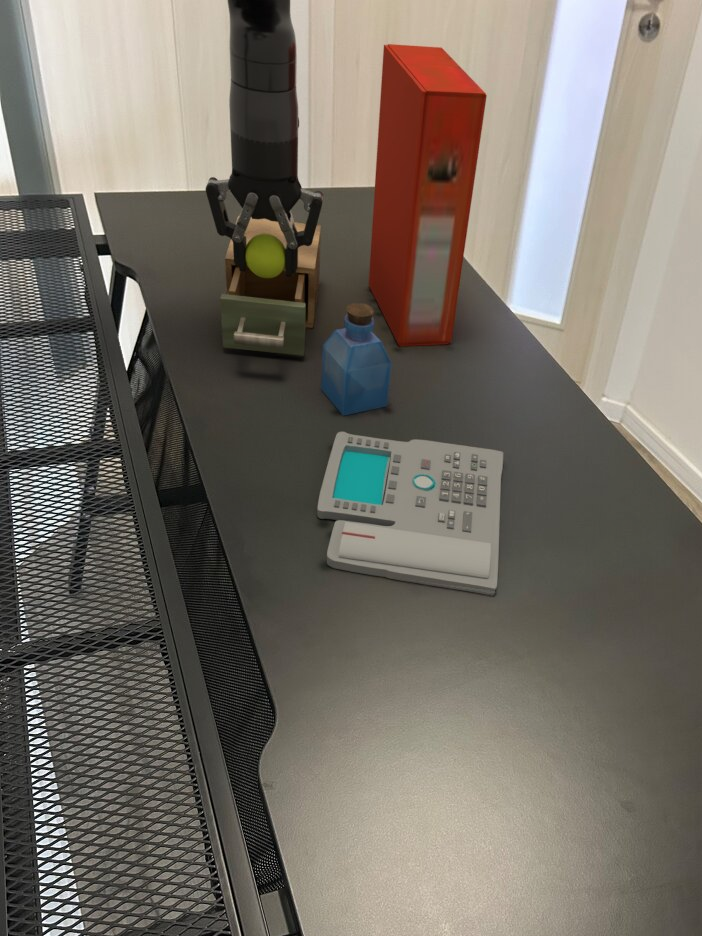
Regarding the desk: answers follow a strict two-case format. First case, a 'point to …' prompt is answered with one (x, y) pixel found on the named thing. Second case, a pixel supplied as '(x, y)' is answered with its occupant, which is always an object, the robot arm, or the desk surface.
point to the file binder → (423, 190)
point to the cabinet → (306, 264)
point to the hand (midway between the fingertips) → (266, 270)
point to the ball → (265, 255)
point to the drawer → (265, 313)
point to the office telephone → (414, 511)
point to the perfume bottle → (356, 364)
